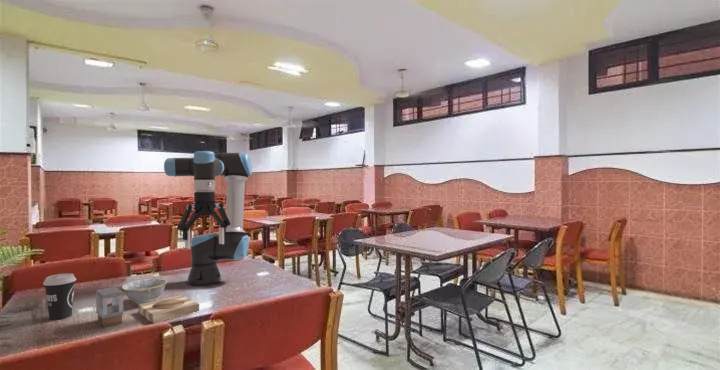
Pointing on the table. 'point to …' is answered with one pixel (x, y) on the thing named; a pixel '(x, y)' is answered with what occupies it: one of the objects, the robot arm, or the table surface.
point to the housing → (102, 302)
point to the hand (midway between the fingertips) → (205, 246)
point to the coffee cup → (60, 295)
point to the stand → (110, 321)
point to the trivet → (168, 308)
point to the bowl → (144, 290)
